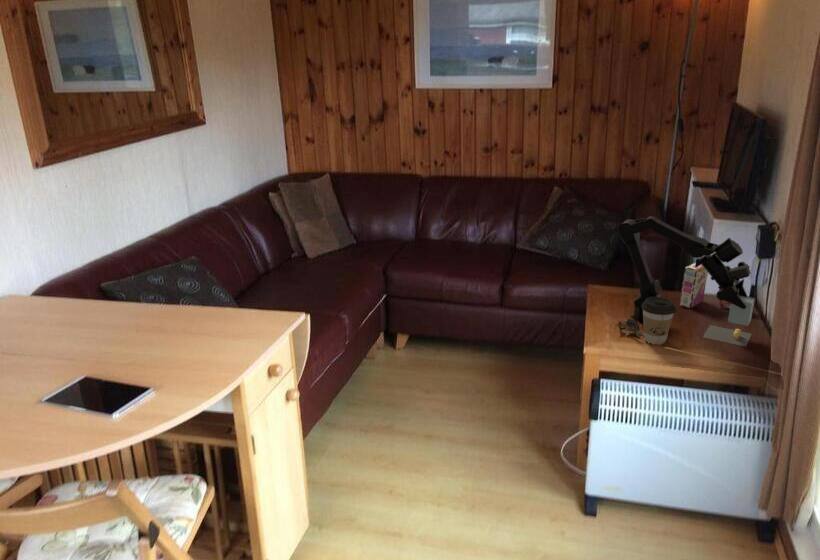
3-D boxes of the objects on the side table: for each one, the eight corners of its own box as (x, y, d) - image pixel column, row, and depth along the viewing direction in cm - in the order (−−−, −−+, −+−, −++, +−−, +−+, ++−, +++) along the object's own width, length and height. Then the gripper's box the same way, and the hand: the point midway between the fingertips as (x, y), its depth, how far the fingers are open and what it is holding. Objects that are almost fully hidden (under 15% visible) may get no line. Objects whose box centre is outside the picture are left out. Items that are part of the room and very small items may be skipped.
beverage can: (737, 310, 252) (742, 281, 248) (720, 309, 253) (725, 280, 249) (733, 304, 258) (738, 276, 254) (716, 303, 259) (721, 275, 255)
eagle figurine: (613, 333, 233) (638, 335, 227) (616, 314, 234) (640, 315, 229) (621, 338, 239) (645, 340, 233) (623, 319, 240) (647, 320, 234)
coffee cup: (641, 347, 225) (645, 307, 220) (634, 333, 236) (639, 294, 230) (675, 348, 224) (680, 308, 218) (667, 334, 234) (672, 295, 229)
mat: (702, 338, 230) (703, 331, 229) (709, 326, 239) (710, 319, 238) (745, 348, 222) (747, 340, 221) (751, 335, 231) (752, 327, 230)
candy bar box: (691, 309, 254) (696, 270, 248) (679, 305, 258) (684, 267, 252) (704, 301, 261) (709, 263, 255) (692, 298, 265) (697, 260, 259)
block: (727, 321, 226) (731, 300, 223) (731, 315, 231) (734, 294, 228) (747, 325, 222) (751, 304, 220) (751, 319, 227) (754, 298, 224)
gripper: (732, 264, 213) (763, 302, 211) (742, 249, 228) (771, 284, 226) (703, 282, 220) (733, 318, 218) (714, 266, 235) (743, 300, 233)
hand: (746, 305), depth 224 cm, fingers closed on block, 6 cm apart
